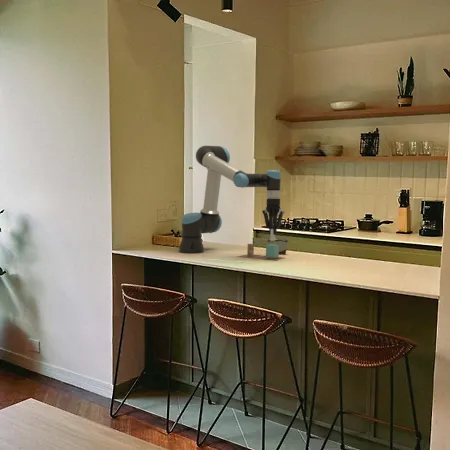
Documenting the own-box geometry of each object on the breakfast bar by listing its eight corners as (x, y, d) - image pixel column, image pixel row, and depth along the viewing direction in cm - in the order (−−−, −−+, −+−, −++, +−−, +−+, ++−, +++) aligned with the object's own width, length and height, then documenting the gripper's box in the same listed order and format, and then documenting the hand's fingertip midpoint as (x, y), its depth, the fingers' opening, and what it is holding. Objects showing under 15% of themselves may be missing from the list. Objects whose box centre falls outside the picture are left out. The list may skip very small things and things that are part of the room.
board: (235, 258, 318) (235, 256, 318) (248, 255, 330) (248, 253, 330) (275, 262, 304) (275, 260, 304) (286, 259, 316) (286, 257, 316)
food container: (287, 254, 334) (288, 238, 333) (288, 256, 328) (288, 239, 327) (267, 254, 335) (267, 237, 334) (266, 255, 329) (267, 238, 328)
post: (247, 256, 320) (247, 244, 320) (249, 255, 323) (249, 243, 322) (251, 256, 319) (251, 244, 318) (253, 256, 321) (253, 244, 320)
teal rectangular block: (265, 256, 312) (266, 245, 312) (270, 255, 317) (270, 244, 316) (274, 257, 310) (274, 245, 309) (278, 256, 314) (278, 244, 313)
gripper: (259, 198, 310) (259, 240, 313) (280, 198, 303) (280, 242, 306) (266, 197, 317) (265, 239, 319) (287, 198, 310) (286, 240, 312)
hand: (272, 240), depth 312 cm, fingers closed
